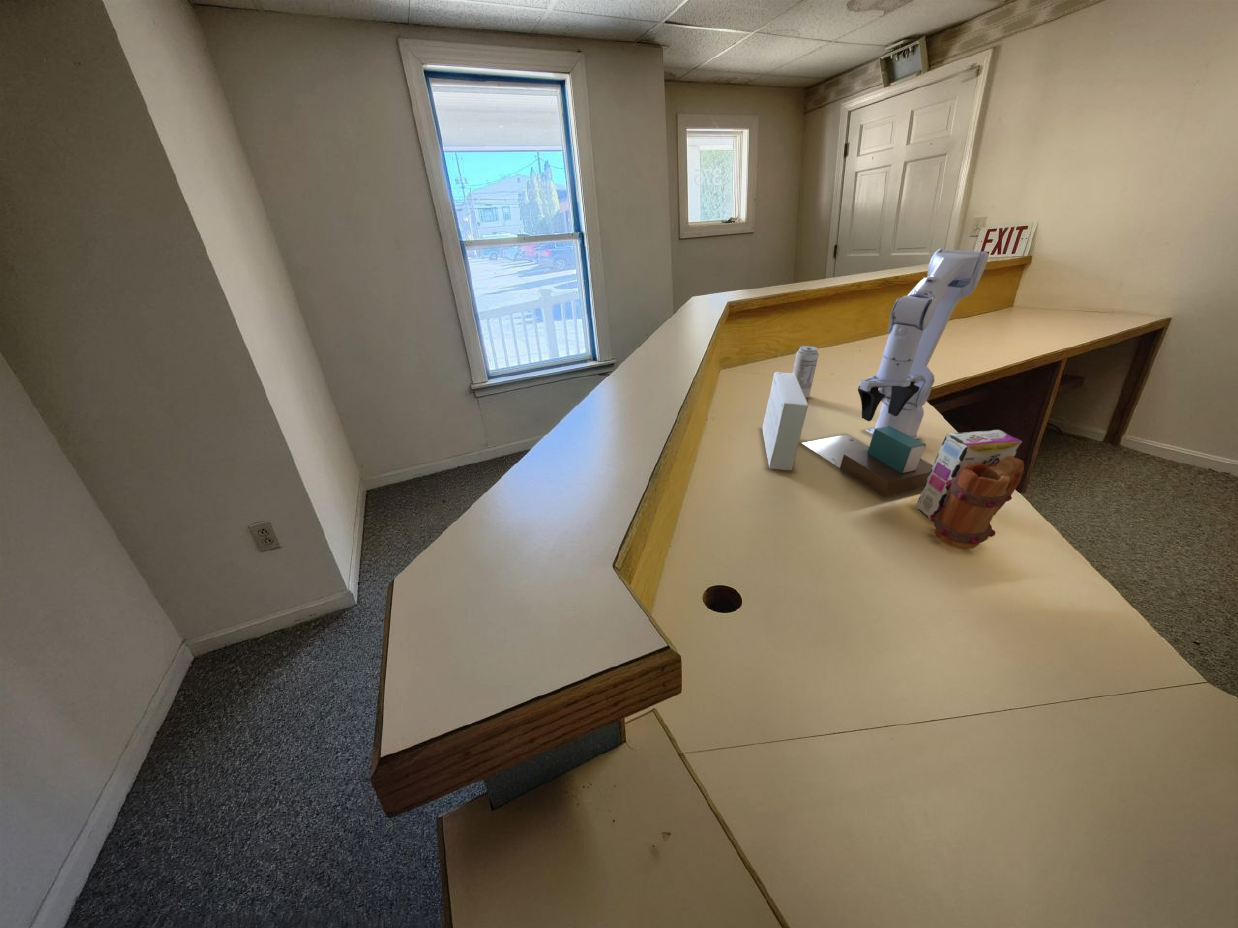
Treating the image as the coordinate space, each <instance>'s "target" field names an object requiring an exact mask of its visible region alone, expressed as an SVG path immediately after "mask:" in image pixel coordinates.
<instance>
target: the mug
mask: <svg viewBox="0 0 1238 928" xmlns="http://www.w3.org/2000/svg"><path fill="white" fill-rule="evenodd" d="M1024 471H1025V463H1024V461H1023V460H1022V459H1020V458H1017V457H1015V456H1014V457H1013V456H1007V457H1005V458H1004V459H1003V460H1001V461H1000V462H999V463H998V464H997V465H996V466H992V467H988V466H987V465H986V464H982V463H974V464H973V465H971V464H966V465H965V466H964V467H963V468H962V470H961V472H960V474H959V476H957V477H955V478H954V479H953V480H948V481H947V482H946V485H947V486H948V487H949V488H950V491H951V493H950V496H949V499H948V501H947V504H946V506H945V508H944V509H943V510H941V511H939V512H938V513H937V514H932V515H930V519H931V520H932V521H931V520H930V521H931V522H932V523H933V525H934V528H935V530H934V535H935V537H936V538H937V539H938V540H939V541H941V542H942V543H944V544H946V545H948V546H950V547H952V548H956V549H960V550H964V551H965V550H972V549H975V548H977V547H978V546H979V545H980V544H982V543H984V542H985V541H987V540H988V539H989V538H991V537H994V536H995V535H996V531H995V530H994V529H993V526H992V524H991V522H992V519H993V518H994V516H996V515H997V513H998V512H999V511H1000V509H1001V508H1002V507H1003V506H1004V505H1005V504H1006V502H1009V501H1011V500H1012V499H1013V497H1012V495H1013V493H1014V492H1015V491H1016V489H1017V487H1018V486H1019V485H1020V483H1021V480H1022V477H1023V474H1024Z"/></svg>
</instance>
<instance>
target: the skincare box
mask: <svg viewBox="0 0 1238 928" xmlns="http://www.w3.org/2000/svg"><path fill="white" fill-rule="evenodd" d="M807 401H808V400H807V399H805V397H804V394H803V392H802V390H801V387H800V385H799V383H798V380H797V378H796V376H795V374H794V373H793V372H781V371H774V372H773V377H772V383H771V387H770V391H769V396H768V401H767V404H766V411H765V415H764V420H763V423H762V424H763V425H762V429H761V430H762V435H763V441H764V447H765V452H766V457H767V463H768V469H771V470H779V471H780V470H781V471H792V470H793V466H794V463H795V459H796V455H797V451H798V446H799V443H800V440H801V439H800V438H801V435H802V431H803V428H804V423H805V419H806V416H807V412H808V408H809V403H808V402H807Z"/></svg>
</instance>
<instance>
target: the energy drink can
mask: <svg viewBox="0 0 1238 928" xmlns="http://www.w3.org/2000/svg"><path fill="white" fill-rule="evenodd" d="M818 349H819V348H818V347H816V346H813V345H800V346H799V349H798V350H797V351H796V354H795V359H794V365H793V369H792V370H793V371H792V373H794V374H795V376H796V378H797V380H798V383H799V385H800V387H801V390H802V392H803V394H804V397H805V399H806V400H807V399H808V398H809V397H810V395H811V390H812V386H813V383H814V377H815V372H816V368H817V365H818V364H817V363H818V359H819V355H820V354H819V352H818Z"/></svg>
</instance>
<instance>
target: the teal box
mask: <svg viewBox="0 0 1238 928" xmlns="http://www.w3.org/2000/svg"><path fill="white" fill-rule="evenodd" d="M926 445H927V444H926V443H924V442H922V441H920V440H919V439H914V438H912V437H910V436H908V435H906V434H904V433H902V432H900V431H898V430H896V429H894V428H892V427H890V426H887V427H881V428H876V429H875V430H874V433H873V435H872V437H871V440H870V443H869V446H868V447H869V449H868V452H867V453H868V454H869V455H871V456H873V457H875V458H876V459H878V460H880V461H881V462H883V463H885V464H886V465H888V466H890V467H891V468H893V469H895V470H897V471H898V472H900V473H905V472H910V471H914V470H916V469H917V467H918V464H919V461H920V459H922V456H923V453H924V451H925V448H926Z"/></svg>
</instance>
